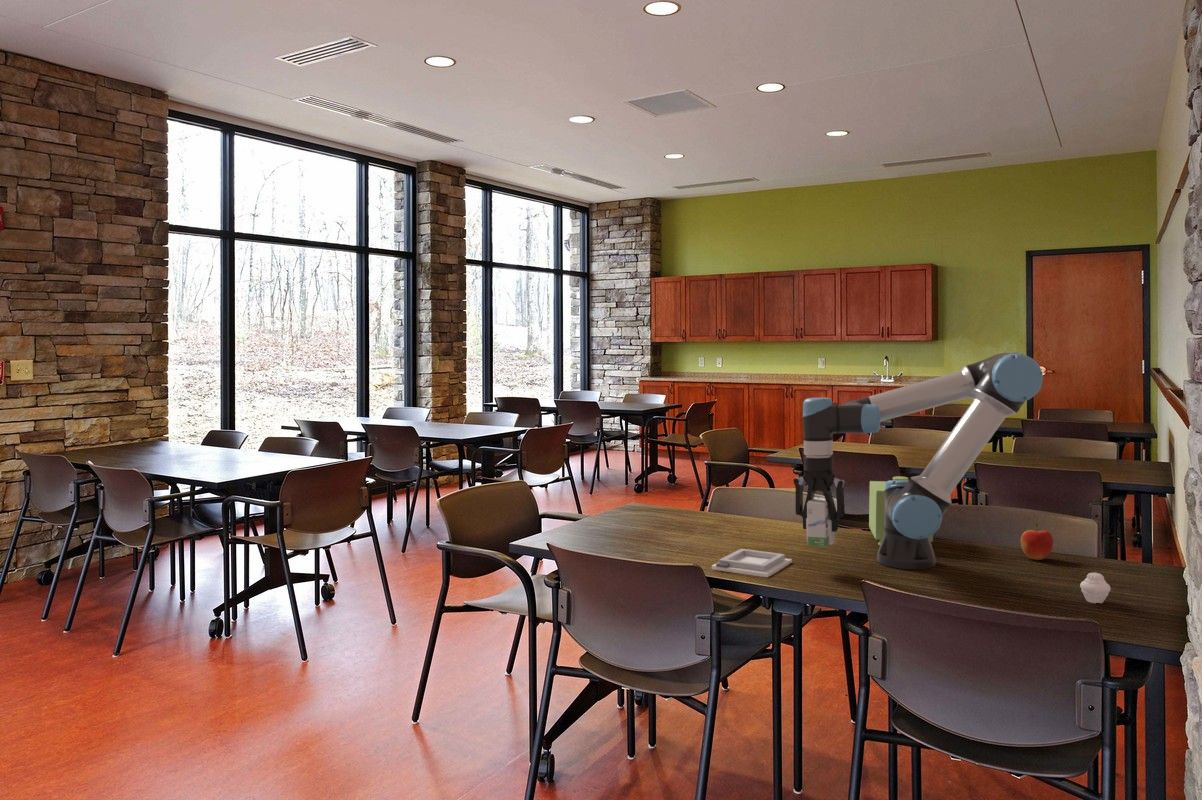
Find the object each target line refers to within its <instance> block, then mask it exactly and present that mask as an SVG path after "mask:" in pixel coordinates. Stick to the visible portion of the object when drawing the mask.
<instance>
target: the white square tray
mask: <svg viewBox="0 0 1202 800" xmlns="http://www.w3.org/2000/svg"><path fill="white" fill-rule="evenodd" d="M790 563H791V564H792V563H793V558H786V554H785V553H779V552H771V551H763V550H762V551H761V550H754V549H747V548H740V549H738V550H736V551H733V552H731V553H729V554H727V555H726V556H724V557H722V558H720V559H718V562H716V563H714V564H712V565H711V570H714V571H720V572H728V573H735V574H740V575H748V576H754V577H762V578H769V577H770V576H772V575H774V574H775V573H777V572H779V571H780V570H782V569H784V568H785V567H787V566H789V565H790Z"/></svg>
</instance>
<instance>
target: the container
mask: <svg viewBox="0 0 1202 800" xmlns="http://www.w3.org/2000/svg"><path fill="white" fill-rule="evenodd" d="M892 480H901V481H909V477H906V476H901V475H899V476H897V475H896V476H893V477H892ZM887 481H888V480H887ZM887 481H886V480H885V481H884V480H882V481H881V480H880V481H879V480H877V481H876V480H870V481H869V497H868V499H869V501H868V502H869V503H868V515H869V516H868V520H869V521H868V527H869V529H870V532H871V534H872V535H873V538H874V539H875V540H876V541H878V543H877V544H878V545H879V546H880V545H881V542H882V539H883V536H884V522H885V493H884V490H885V484H886V482H887ZM929 539H930V542H931V543H934V534H933V535H932V536H930V537H929Z"/></svg>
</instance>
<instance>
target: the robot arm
mask: <svg viewBox="0 0 1202 800" xmlns="http://www.w3.org/2000/svg"><path fill="white" fill-rule="evenodd" d="M1043 381H1044V374H1043V370H1042V368H1041V366H1040V365H1039V362H1037V361H1036V360H1035V358H1032V357H1031V356H1029V355H1026V354H1023V353H1020V352H1009V353H1007V352H1002V353H997V354H994V355H992V356H989V357H987V358H983V359H982V360H979V361H977V362H973V363H970V364H967V365H963V367H962V369H961V370H959V371H956V372H953V373H948V374H946V375H945V374H944V375H942V376H938V377H934V378H930V379H927V380H924V381H920V382H917V383H913V384H910V385H909V384H908V385H906V386H902V387H898V388H895V389H891V390H888V391H887V390H886V391H884V392H880V393H877V394H874V395H870V396H867V397H863V398H859V399H855V400H848V401H846V402H844V403H842V404H833V400H832V398H831V397H810V398H809V397H808V398H806V399H804V401H803V404H802V426H803V429H802V430H803V431H802V433H803V455H805V456H804V458H803V462H804V463H803V466H804V467H803V468H804V473H803V475H802V476H800V477H795V478H793V484H794V487H795V515H797V516H800V517H801V518H802V529H803V530H806V532H805V533H806V534H805V535H806V543H808V523H807V503H808V501H810V500H812V499H813V498H815V494H816V492H818V491H819V492H821V493H822V494H823V496H824V498H825V500H826V502H827V506H828V510H829V514H830V517H831V518H830V519H829V520H828V544H829V545H831V546H832V545H833V544H834V543H835V532H837V531H838V522H839V521H838V520H839V519H841V518H843V517H845V514H846V510H845V495H844V494H845V491H844V488H845V485H846V480H845V479H839V478H837V477H836V475H835V473H834V457H833V454H834V443H833V442H834V436H833V435H834V434H866V435H867V434H872V433H875V434H876V433H878V432H879V431H880V429H881V422H884V421H887V420H892V419H895V418H897V417H898V418H900V417H903V416H907V415H909V414H914V413H918V412H921V411H925V410H929V409H933V408H936V407H940V406H944V405H948V404H951V403H956V402H959V401H963V400H967V399H971V400H973V401H972V402H971V404H970V405H969V406H968V408H967V409H966V410H965V412H964V414H963V415H962V416H961V418H960V419H958V421H957V423H956V425H954V427H953V429H952V430H951V432H950V433H949V434H948V435H947V437H946V438H945V440H944V441H943V443H942V444H941V445H940V447H939V448H938V449H937V451H936V453H935V454H934V455H933V457H932V458H931V460H930V461H929V462H928V464H927V465H926V467H925V468H924V470H922V473H920V474H918V475H916V476H915V475H914V476H911V477H910V478H909V479H908V481H901V480H893V479H892V480H887V482H886V484H885V490H884V493H885V522H884V536H883V539H882V542H881V545H879V548H878V551H877V556H876V557H877V559H876V560H877V562H878V563H879V564H881V565H883V566H886V567H890V568H893V569H894V568H896V569H902V570H903V569H904V570H924V569H925V570H927V569H932V568H934V567H935V566H936V555H935V552H934V549H933V545H932V542H930V539H929V537H930V536H932V535H933V536H934V535H935V533H937V532H938V530H939V529H940V527H941V525H942V521H943V516H944V514H945V513H946V511H947V510H948V508H949V507H951V505H952V499H951V494H952V492H953V491H955V490H954V489H955V488H956V487H957V485H958V484H959V483H960V482H961V480H962V479H963V477H964V476H965V474H966V473H967V472H968V470H969V469H970V468H971V466H972V465H973V463H974V462H975V461H976V459H977V458H978V457H979V455H980V454H981V452H982V451H983V450H984V448H985V447H986V445H987V444H988V443H989V441H990V440H991V439H992V437H993V436H994V435H995V433H996V432H997V430H998V429H999V427H1000V426H1001V425H1002V423H1003V422H1004V421H1005V419H1006V418H1008V417H1011V416H1014V415H1017V414H1018V413H1019V411H1020V410H1021V408H1022V407H1023V406H1024V404H1025V403H1026V401H1029V400H1031V399H1032V398H1033V397H1035V396H1036V395H1037V394H1038V393H1039V391H1040V390H1041V387H1042V385H1043ZM804 483H805V484H806V485H807V487H808V488H807V492H806V498H805V501H804V486H803V485H804ZM833 483H834V486H835V489H836V490H835V493H836V494H835V495H836V505H835V500H834V497H833V494H832V487H831V486H832V485H833ZM829 545H828V546H829Z"/></svg>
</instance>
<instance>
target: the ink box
mask: <svg viewBox="0 0 1202 800" xmlns="http://www.w3.org/2000/svg"><path fill="white" fill-rule="evenodd" d="M830 518H831V517H830V514H829V510H828V506H827V502H826V500H825V497H815V496H814V498H813V499H812V500H810V501H808V503H807V523H808V542H807V547H813V548H814V547H815V548H827V547H828V546H829V544H828V520H829V519H830Z"/></svg>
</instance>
